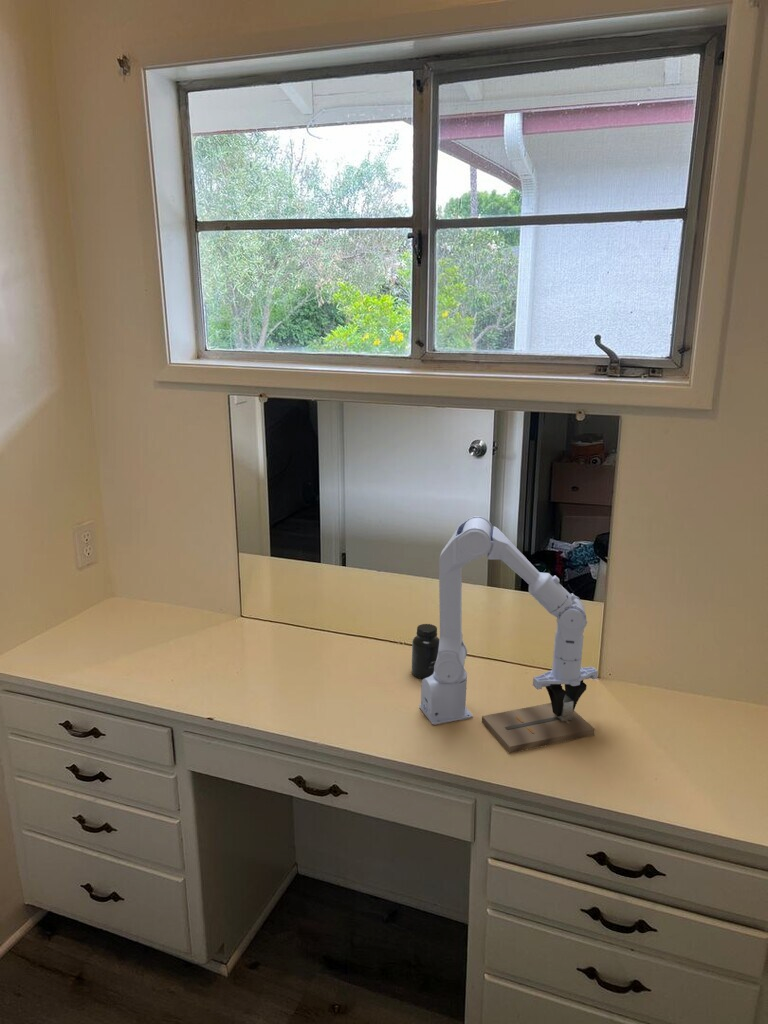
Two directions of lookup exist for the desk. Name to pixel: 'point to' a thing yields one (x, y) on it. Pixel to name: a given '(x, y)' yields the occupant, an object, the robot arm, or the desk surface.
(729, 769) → the desk surface
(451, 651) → the robot arm
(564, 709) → the fader tab
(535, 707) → the console board
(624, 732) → the desk surface
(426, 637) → the supplement bottle
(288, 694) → the desk surface
